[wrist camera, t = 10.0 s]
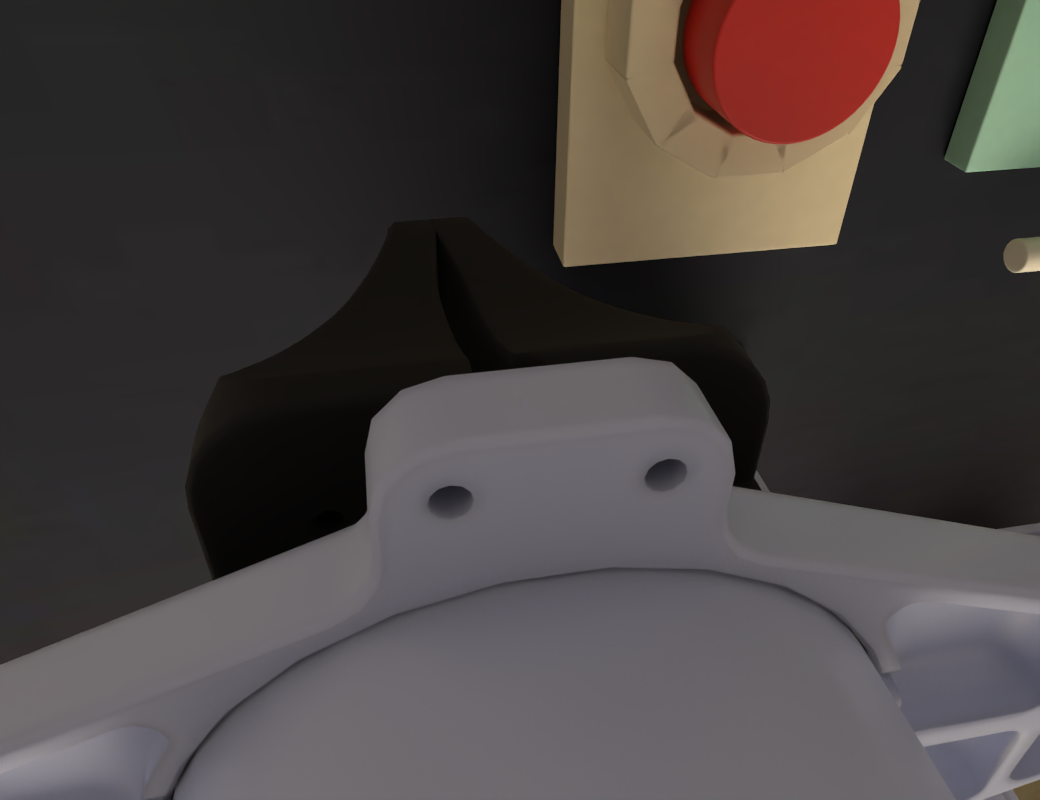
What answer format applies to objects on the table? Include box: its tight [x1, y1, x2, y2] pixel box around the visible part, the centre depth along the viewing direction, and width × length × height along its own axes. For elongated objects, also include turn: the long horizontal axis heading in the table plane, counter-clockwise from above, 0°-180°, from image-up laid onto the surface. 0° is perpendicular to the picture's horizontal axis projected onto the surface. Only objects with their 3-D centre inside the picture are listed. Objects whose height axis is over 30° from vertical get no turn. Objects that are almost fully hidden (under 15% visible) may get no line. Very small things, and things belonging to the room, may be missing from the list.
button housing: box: [553, 0, 920, 267], centre depth 21 cm, size 12×9×4 cm
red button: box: [683, 0, 900, 144], centre depth 19 cm, size 4×4×2 cm
